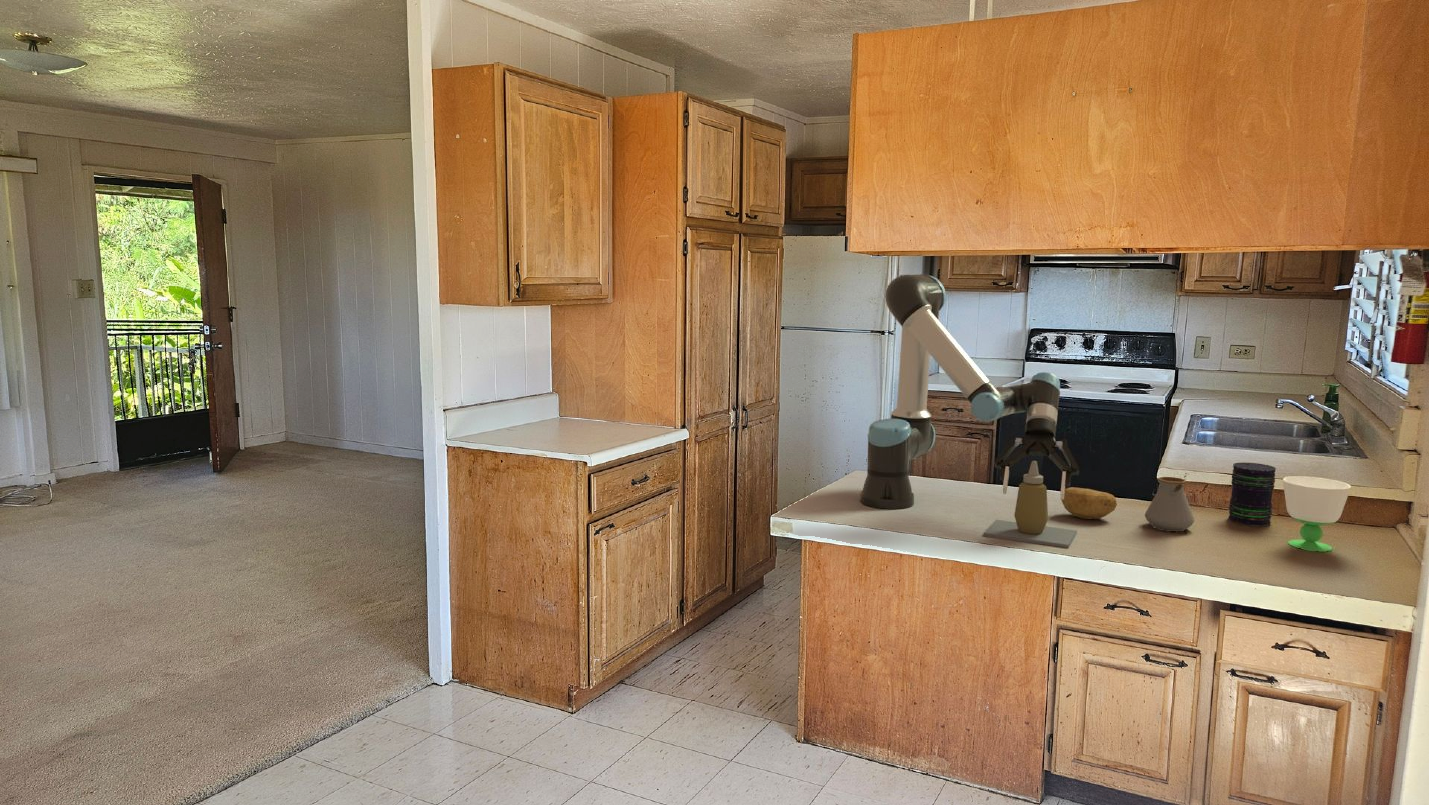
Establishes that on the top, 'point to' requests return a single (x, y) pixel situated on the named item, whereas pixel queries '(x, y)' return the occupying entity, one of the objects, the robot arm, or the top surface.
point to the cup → (1314, 507)
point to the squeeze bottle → (1032, 503)
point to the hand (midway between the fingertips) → (1033, 493)
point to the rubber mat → (1047, 537)
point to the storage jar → (1252, 494)
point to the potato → (1088, 503)
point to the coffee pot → (1170, 506)
